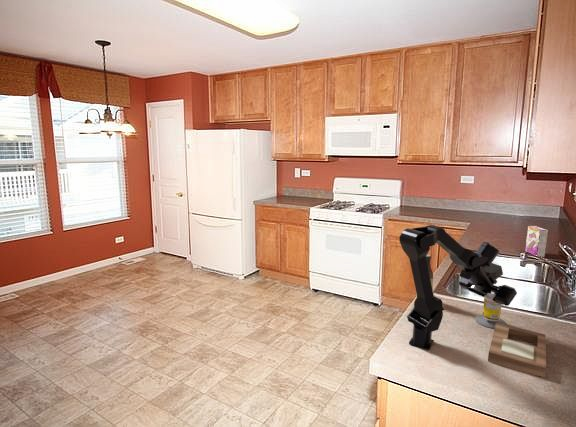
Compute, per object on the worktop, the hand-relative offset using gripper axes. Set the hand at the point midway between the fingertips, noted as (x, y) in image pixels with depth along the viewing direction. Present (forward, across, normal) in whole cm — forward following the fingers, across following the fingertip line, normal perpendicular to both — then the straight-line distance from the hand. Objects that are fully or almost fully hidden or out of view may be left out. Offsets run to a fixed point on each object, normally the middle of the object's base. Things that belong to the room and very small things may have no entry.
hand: (495, 300), depth 131 cm
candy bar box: (+75, +45, -65) cm, 109 cm away
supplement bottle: (+4, 0, +6) cm, 7 cm away
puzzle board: (-2, -16, +14) cm, 22 cm away
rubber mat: (+5, 0, +7) cm, 8 cm away
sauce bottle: (-1, +24, +13) cm, 27 cm away
